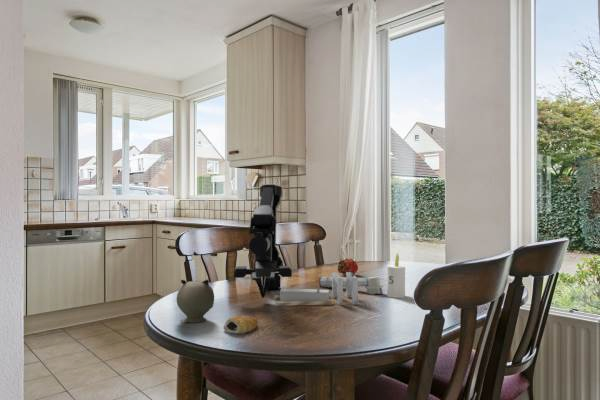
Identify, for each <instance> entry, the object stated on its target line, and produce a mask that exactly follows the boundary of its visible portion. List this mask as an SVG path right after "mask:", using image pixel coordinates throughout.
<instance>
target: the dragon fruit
mask: <svg viewBox="0 0 600 400" xmlns="http://www.w3.org/2000/svg"><path fill="white" fill-rule="evenodd" d="M337 265H338V266H337V272H338V274H342V275H343V276H342V277H346V272H352V273H353V274H354V275H355V276H356V273H357V272H358V270H359V266H358V263H357V261H356V260H354V259H353V258H345V259H342V260H340V261H339V262H338V264H337Z"/></svg>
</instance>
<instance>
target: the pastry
mask: <svg viewBox="0 0 600 400" xmlns="http://www.w3.org/2000/svg"><path fill="white" fill-rule="evenodd" d="M257 326H258V319H257V318H255V317H254V316H251V315H239V314H238V315H236V316H235V315H234V316H233V317H229V318H228V319H227V320H226V321H225V323H224V325H223V330H224V331H225V332H226V333H230V334H231V333H232V334H236V335H243V334H246V333H248V332H252V330H254V329H256V328H257Z"/></svg>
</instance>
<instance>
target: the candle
mask: <svg viewBox="0 0 600 400" xmlns="http://www.w3.org/2000/svg"><path fill="white" fill-rule="evenodd" d="M399 259H400V258H399V254H398V253H396V255H395V260H394V264H387V265H386V296H387V298H388V297H389V298H394V299H403V298H405V297H406V266H405V265H402V264H400V263H399V262H400V260H399Z"/></svg>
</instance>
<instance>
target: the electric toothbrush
mask: <svg viewBox="0 0 600 400" xmlns="http://www.w3.org/2000/svg"><path fill="white" fill-rule="evenodd" d="M341 277H342V278H343V288H344V287H345V288H346V277H345V276H341ZM357 278H358V287H365V289H366V293H367V294H370V295H375V294H378V295H379V294H383V288H384V285H383V284H381V281H380V278H379V276H369V277H357ZM318 279H319V280H318V286H319V287H321V288H328V289H329V288H332V276H330V275H328V276H321V277H319V278H318Z"/></svg>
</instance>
